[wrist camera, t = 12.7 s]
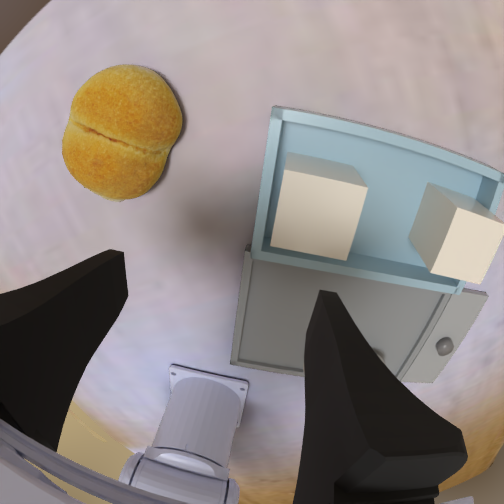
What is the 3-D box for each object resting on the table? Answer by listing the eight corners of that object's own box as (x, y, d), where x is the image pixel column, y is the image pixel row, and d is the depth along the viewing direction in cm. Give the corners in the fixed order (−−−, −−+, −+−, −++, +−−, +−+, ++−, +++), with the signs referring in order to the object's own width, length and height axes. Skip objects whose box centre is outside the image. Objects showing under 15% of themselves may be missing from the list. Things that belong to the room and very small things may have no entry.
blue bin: (447, 275, 21) (459, 295, 19) (255, 239, 22) (249, 257, 19) (488, 165, 16) (507, 175, 14) (275, 105, 17) (272, 107, 15)
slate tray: (430, 380, 26) (433, 390, 25) (231, 357, 28) (228, 368, 26) (487, 289, 21) (494, 299, 20) (246, 244, 22) (243, 254, 21)
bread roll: (204, 89, 17) (182, 90, 14) (152, 206, 22) (126, 230, 18) (103, 49, 16) (68, 47, 13) (67, 160, 21) (34, 175, 17)
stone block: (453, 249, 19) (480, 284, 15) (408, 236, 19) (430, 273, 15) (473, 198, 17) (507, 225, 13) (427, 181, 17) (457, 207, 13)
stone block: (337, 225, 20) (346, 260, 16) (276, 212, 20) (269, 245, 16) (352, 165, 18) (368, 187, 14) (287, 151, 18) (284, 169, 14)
